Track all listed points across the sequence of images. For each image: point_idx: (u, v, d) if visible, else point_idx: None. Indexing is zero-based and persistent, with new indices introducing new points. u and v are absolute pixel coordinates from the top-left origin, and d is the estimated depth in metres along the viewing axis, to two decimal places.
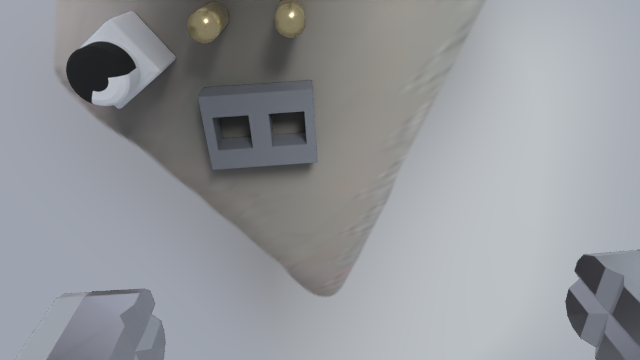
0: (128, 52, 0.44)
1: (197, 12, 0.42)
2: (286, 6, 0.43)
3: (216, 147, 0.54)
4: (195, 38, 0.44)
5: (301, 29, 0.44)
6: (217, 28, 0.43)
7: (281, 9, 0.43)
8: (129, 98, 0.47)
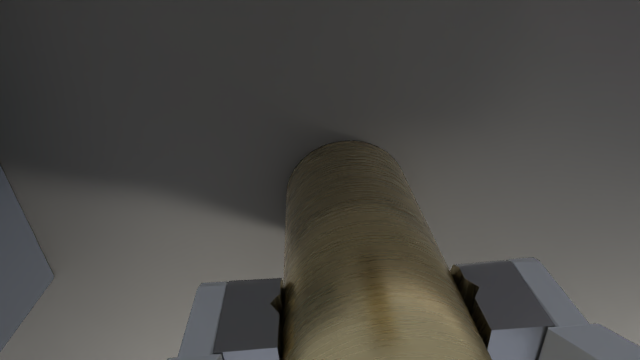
0: None
1: None
2: None
3: None
4: None
5: None
6: None
7: None
8: None
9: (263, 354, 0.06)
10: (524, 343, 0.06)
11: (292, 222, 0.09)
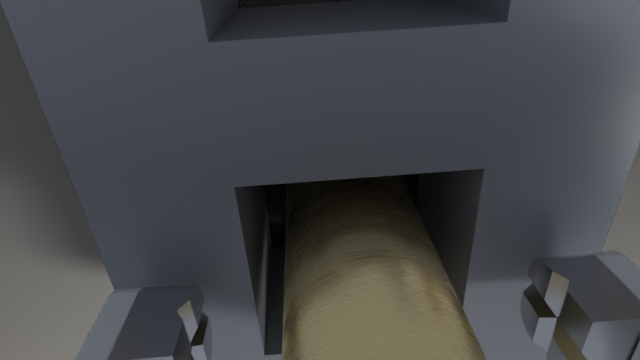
0: None
1: None
2: None
3: None
4: None
5: None
6: None
7: None
8: None
9: None
10: (622, 335, 0.06)
11: (292, 203, 0.10)
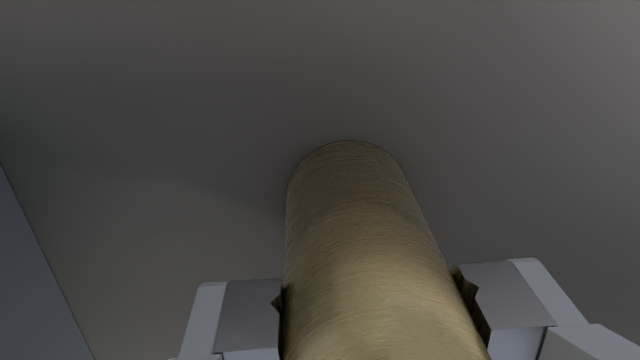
0: None
1: None
2: None
3: None
4: None
5: None
6: None
7: None
8: None
9: (263, 354, 0.06)
10: (524, 343, 0.06)
11: None
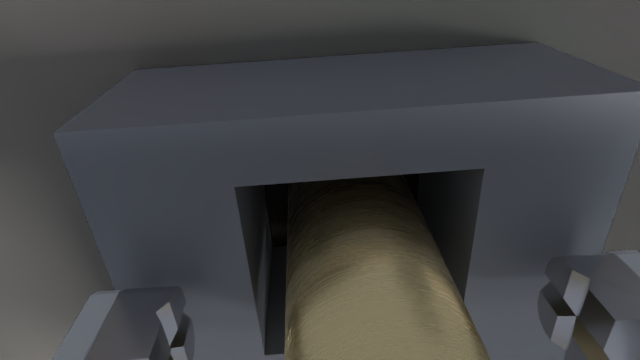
0: None
1: None
2: None
3: (257, 177, 0.07)
4: None
5: None
6: None
7: None
8: None
9: None
10: None
11: None
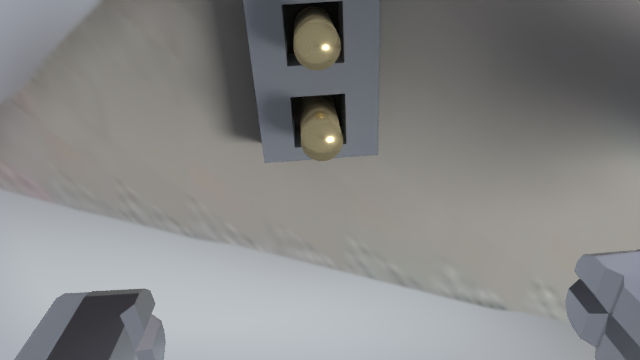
0: None
1: (338, 41, 0.28)
2: (341, 138, 0.32)
3: (287, 1, 0.30)
4: (300, 33, 0.28)
5: (311, 156, 0.32)
6: (315, 69, 0.29)
7: (337, 131, 0.31)
8: None
9: None
10: None
11: (302, 107, 0.36)
